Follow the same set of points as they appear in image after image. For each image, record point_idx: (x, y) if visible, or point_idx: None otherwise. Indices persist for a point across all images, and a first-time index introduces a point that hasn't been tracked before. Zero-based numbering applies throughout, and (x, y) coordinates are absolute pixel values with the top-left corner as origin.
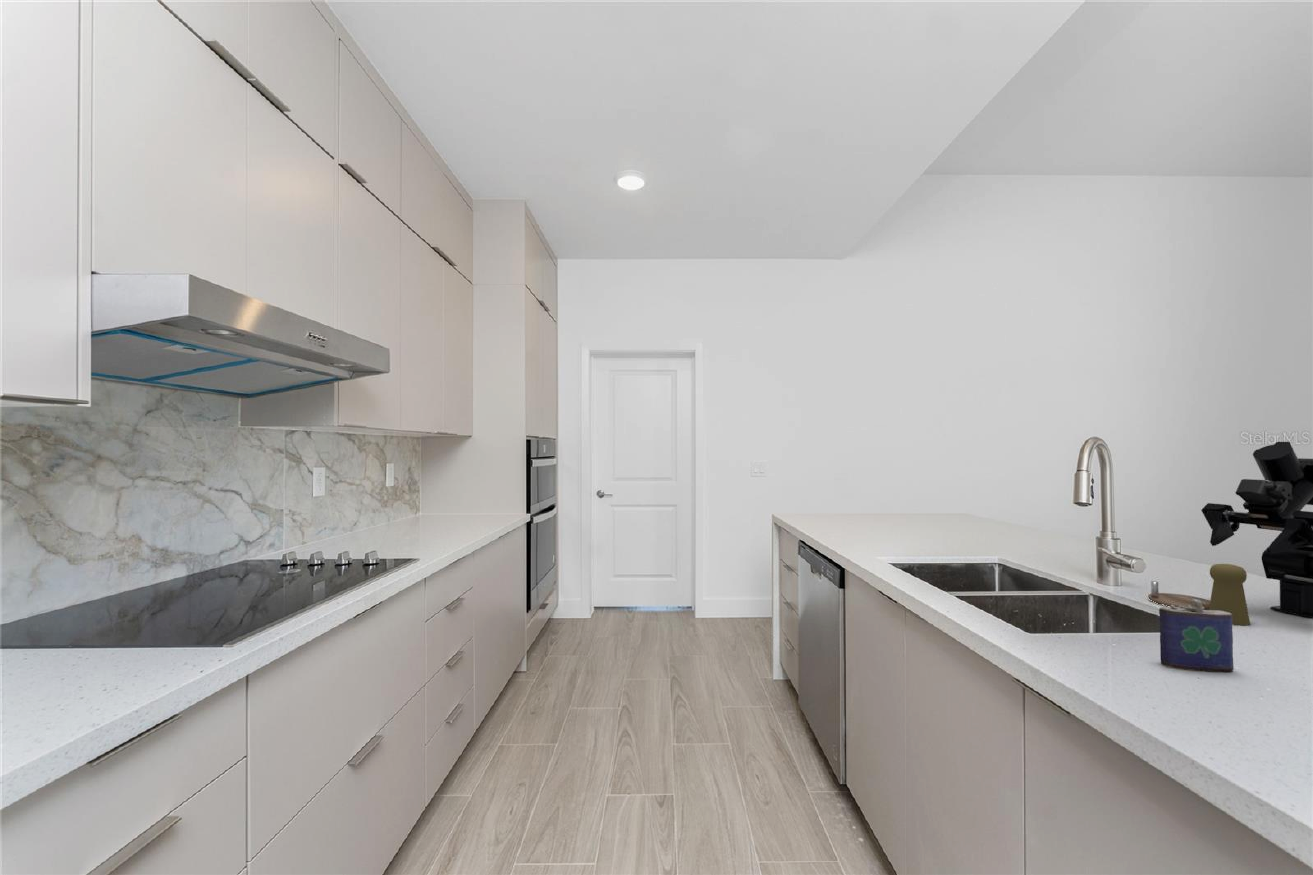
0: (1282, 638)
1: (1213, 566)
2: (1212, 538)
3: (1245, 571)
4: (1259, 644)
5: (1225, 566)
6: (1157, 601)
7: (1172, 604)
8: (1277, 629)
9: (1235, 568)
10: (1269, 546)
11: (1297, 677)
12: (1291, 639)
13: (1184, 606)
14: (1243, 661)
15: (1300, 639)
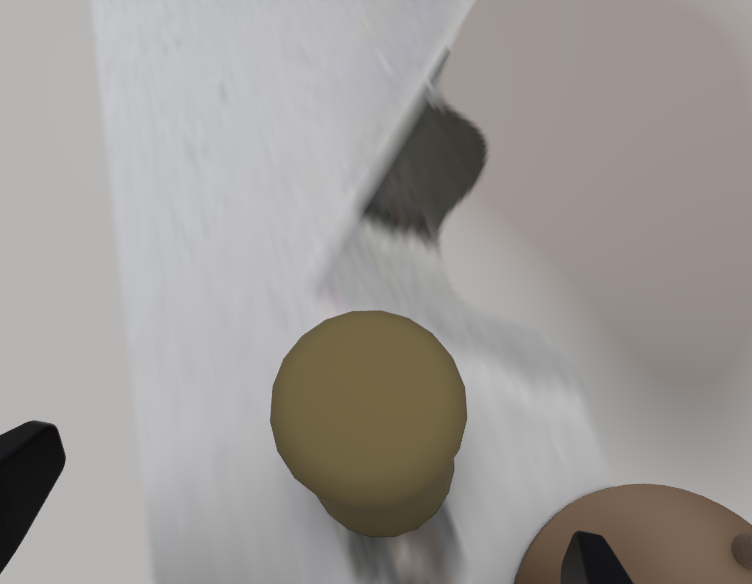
0: (185, 357)
1: (428, 335)
2: (611, 579)
3: (273, 426)
4: (215, 214)
5: (357, 333)
6: (695, 494)
7: (622, 487)
8: (225, 495)
9: (304, 347)
10: (14, 444)
11: (103, 29)
12: (163, 372)
13: (577, 502)
14: (202, 39)
15: (142, 403)
